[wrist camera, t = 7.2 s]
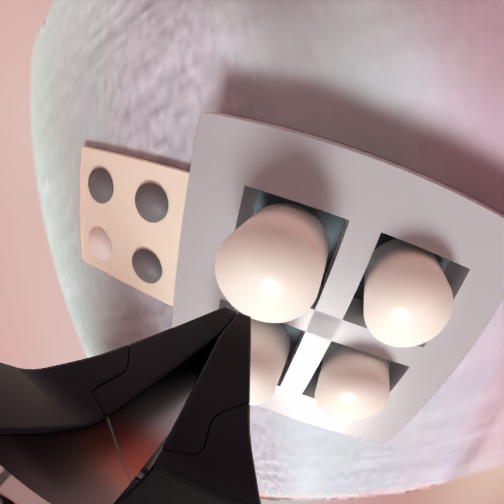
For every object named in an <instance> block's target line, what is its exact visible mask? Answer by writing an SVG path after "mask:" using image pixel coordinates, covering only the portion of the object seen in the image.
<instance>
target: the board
mask: <svg viewBox="0 0 504 504" xmlns="http://www.w3.org/2000/svg"><path fill="white" fill-rule="evenodd" d="M258 190H261V191H264V192H267V193H270V194H273V195H277V196H280V197H283V198H286V199H289V200H292V201H295V202H298V203H301V204H304V205H307V206H310V207H313V208H316V209H319V210H321V211H324V212H327V213H330V214H333V215H336V216H339V217H341V218H344V219H346V222H345V225H344V228H343V231H342V233H341V236H340V239H339V242H338V244H337V247H336V250H335V252H334V255H333V258H332V260H331V263H330V266H329V268H328V271H327V273H326V276H325V278H324V281H323V283H322V286H321V285H320V288H319V292H318V295H317V298H316V300H315V302H314V303H313V305H312V306H311V308H310V309H309V310H308V311H307V312H305V313H304V314H303V315H302V316H300V317H298V318H296V319H294V320H291V321H288V322H283V323H284V324H286V325H289V326H292V327H294V328H297V329H300V330H303V332H302V334H301V336H300V338H299V341H298V343H297V345H296V347H295V350H294V352H293V354H292V356H291V358H290V360H286V363H285V366H284V368H283V371H282V374H281V376H280V379H279V381H278V384H277V386H276V389H275V392H274V394H273V396H272V397H271V398H270V399H269V400H268V401H267V402H265V403H262V404H259V405H257V406H260V407H263V408H265V409H268V410H270V411H273V412H276V413H279V414H281V415H284V416H287V417H290V418H293V419H296V420H299V421H302V422H305V423H308V424H311V425H314V426H318V427H321V428H324V429H327V430H331V431H334V432H338V433H341V434H345V435H349V436H353V437H356V438H360V439H364V440H369V441H373V442H377V443H382V444H386V443H387V442H388V441H389V440H390V439H391V438H392V437H393V436H394V435H395V434H396V433H397V432H399V431H400V430H401V429H402V428H403V427H404V426H405V425H406V424H407V423H408V422H409V421H410V420H411V419H412V418H413V417H414V416H415V415H416V414H417V413H418V412H419V411H420V409H421V408H422V407H423V406H424V405H425V404H426V403H427V402H428V401H429V400H430V399H431V398H432V396H433V395H434V394H435V393H436V392H437V391H438V390H439V388H440V387H441V386H442V385H443V384H444V383H445V381H446V380H447V379H448V378H449V376H450V375H451V374H452V373H453V372H454V370H455V369H456V368H457V366H458V365H459V364H460V363H461V361H462V360H463V359H464V357H465V356H466V355H467V353H468V352H469V351H470V349H471V348H472V346H473V345H474V344H475V342H476V341H477V339H478V338H479V336H480V335H481V333H482V332H483V331H484V329H485V328H486V326H487V324H488V323H489V321H490V320H491V318H492V317H493V315H494V313H495V312H496V310H497V308H498V307H499V305H500V303H501V302H502V300H503V298H504V215H503V214H501V213H499V212H497V211H496V210H494V209H492V208H490V207H488V206H486V205H485V204H483V203H481V202H479V201H477V200H475V199H473V198H471V197H469V196H467V195H465V194H463V193H461V192H459V191H457V190H455V189H453V188H451V187H449V186H446V185H444V184H442V183H440V182H438V181H436V180H433V179H431V178H429V177H427V176H424V175H422V174H420V173H417V172H415V171H413V170H410V169H408V168H405V167H403V166H400V165H398V164H395V163H393V162H390V161H388V160H385V159H382V158H380V157H377V156H374V155H372V154H369V153H366V152H363V151H360V150H358V149H355V148H352V147H349V146H346V145H343V144H340V143H337V142H333V141H330V140H327V139H324V138H321V137H317V136H314V135H310V134H307V133H304V132H300V131H296V130H293V129H289V128H285V127H281V126H278V125H274V124H270V123H266V122H261V121H257V120H253V119H248V118H244V117H239V116H235V115H230V114H225V113H213V112H201V113H200V118H199V123H198V128H197V133H196V138H195V144H194V149H193V155H192V161H191V167H190V173H189V179H188V185H187V192H186V199H185V206H184V213H183V220H182V227H181V235H180V243H179V252H178V261H177V270H176V280H175V290H174V301H173V313H172V326H171V328H173V327H176V326H178V325H181V324H183V323H186V322H188V321H191V320H193V319H195V318H198V317H200V316H203V315H205V314H208V313H210V312H213V311H215V310H217V309H220V308H222V307H228V308H231V304H230V303H229V301H228V300H227V299H226V298H225V296H224V295H223V293H222V291H221V290H220V288H219V285H218V283H217V279H216V274H215V259H216V255H217V252H218V250H219V247H220V246H221V244H222V243H223V241H224V240H225V239H226V238H227V237H228V236H229V235H230V234H232V233H233V232H234V231H235V230H236V229H237V228H239V227H240V226H241V225H242V224H243V223H245V222H246V221H247V220H248V219H249V218H250V217H252V214H253V210H254V206H255V202H256V198H257V193H258ZM381 232H382V233H384V234H387V235H390V236H392V237H395V238H397V239H400V240H402V241H405V242H407V243H410V244H412V245H415V246H417V247H420V248H422V249H425V250H427V251H429V252H432V253H434V254H437V255H439V256H441V257H444V258H446V259H448V260H451V261H450V263H449V265H448V267H447V269H446V271H445V273H444V275H445V277H446V279H447V281H448V283H449V285H450V287H451V290H452V293H453V310H452V314H451V317H450V319H449V321H448V323H447V324H446V326H445V327H444V328H443V330H442V331H441V332H440V333H439V334H438V335H436V336H435V337H434V338H432V339H431V340H429V341H427V342H425V343H423V344H420V345H417V346H413V347H405V348H404V347H393V346H390V345H387V344H384V343H382V342H381V341H379V340H378V339H376V338H375V337H374V336H373V335H372V334H371V333H370V331H369V330H368V328H367V326H366V323H365V320H364V301H362V300H359V299H357V298H354V294H355V292H356V290H357V288H358V286H359V283H360V281H361V279H362V277H363V275H364V272H365V270H366V268H367V265H368V263H369V261H370V258H371V256H372V254H373V251H374V249H375V246H376V244H377V242H378V239H379V237H380V234H381ZM331 341H333V342H336V343H339V344H342V345H345V346H348V347H351V348H354V349H357V350H359V351H362V352H365V353H369V354H372V355H375V356H378V357H381V358H384V359H387V360H390V361H392V362H391V363H390V365H389V400H388V402H387V404H386V406H385V407H384V408H383V409H382V410H381V411H380V412H378V413H376V414H375V415H373V416H370V417H367V418H364V419H357V420H346V419H340V418H336V417H333V416H331V415H329V414H327V413H325V412H324V411H323V410H322V409H320V407H319V406H318V405H317V403H316V401H315V390H316V386H317V382H318V378H319V374H320V371H317V370H316V369H317V367H318V365H319V363H320V362H321V360H322V358H323V356H324V354H325V352H326V351H327V349H328V347H329V345H330V343H331Z"/></svg>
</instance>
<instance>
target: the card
mask: <svg viewBox="0 0 504 504" xmlns="http://www.w3.org/2000/svg"><path fill="white" fill-rule="evenodd" d="M189 173H190V172H189V171H185V170H182V169H178V168H174V167H171V166H167V165H163V164H159V163H155V162H151V161H147V160H143V159H139V158H135V157H131V156H127V155H123V154H119V153H115V152H110V151H106V150H101V149H97V148H93V147H88V146H83V147H82V148H81V164H80V240H81V257H82V261H84V262H86V263H88V264H89V265H91V266H93V267H95V268H97V269H99V270H101V271H102V272H104V273H106V274H108V275H110V276H112V277H114V278H116V279H118V280H120V281H121V282H123V283H125V284H127V285H129V286H131V287H133V288H135V289H137V290H139V291H141V292H143V293H145V294H147V295H149V296H151V297H153V298H156V299H158V300H160V301H162V302H164V303H166V304H168V305H170V306H172V307H173V301H174V290H175V280H176V270H177V261H178V252H179V243H180V235H181V227H182V220H183V213H184V206H185V199H186V192H187V185H188V179H189Z"/></svg>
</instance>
